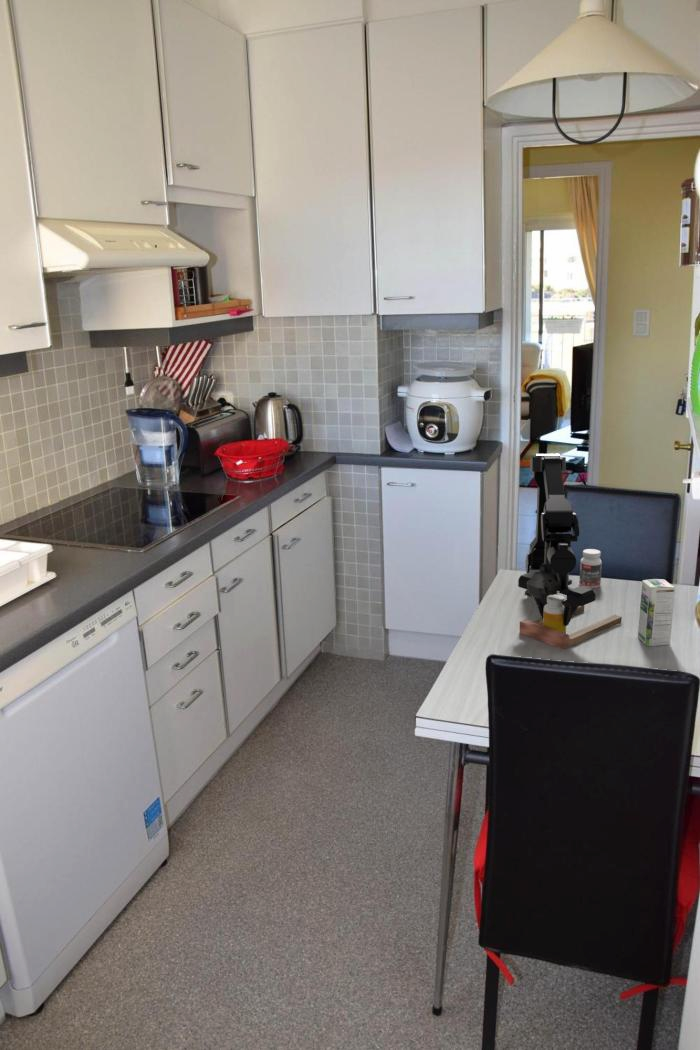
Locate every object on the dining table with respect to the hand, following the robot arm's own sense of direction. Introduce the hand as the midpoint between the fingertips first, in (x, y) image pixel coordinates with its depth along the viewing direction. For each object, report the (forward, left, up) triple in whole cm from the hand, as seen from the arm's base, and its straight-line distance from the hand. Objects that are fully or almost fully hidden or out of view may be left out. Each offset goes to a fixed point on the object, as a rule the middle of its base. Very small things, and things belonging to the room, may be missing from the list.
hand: (554, 621), depth 203 cm
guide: (0, +7, -4) cm, 8 cm away
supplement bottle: (0, 0, -4) cm, 4 cm away
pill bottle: (-15, +35, -4) cm, 38 cm away
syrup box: (+18, +14, -4) cm, 23 cm away
